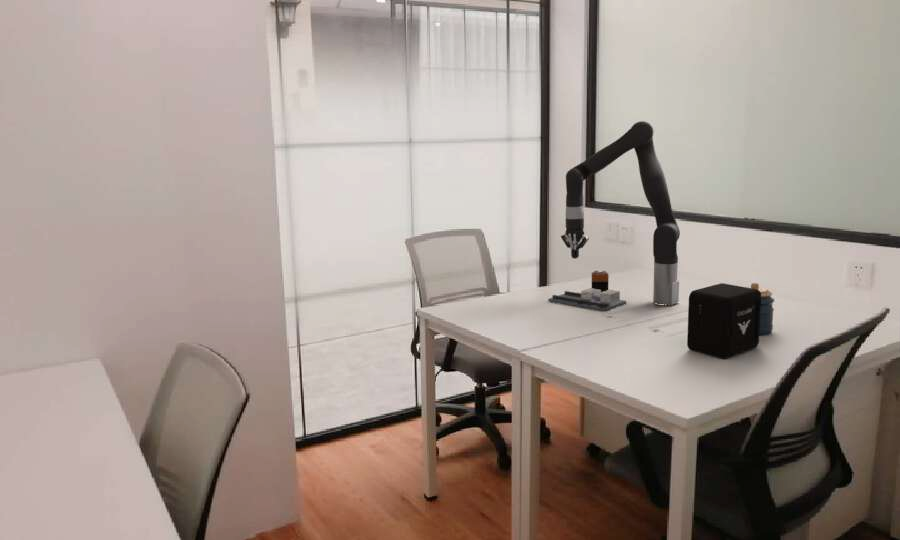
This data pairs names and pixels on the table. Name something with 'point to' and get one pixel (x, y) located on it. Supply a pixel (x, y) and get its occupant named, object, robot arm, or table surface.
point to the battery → (600, 280)
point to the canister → (765, 310)
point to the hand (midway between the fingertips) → (575, 258)
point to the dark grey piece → (606, 301)
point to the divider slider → (590, 294)
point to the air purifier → (724, 320)
